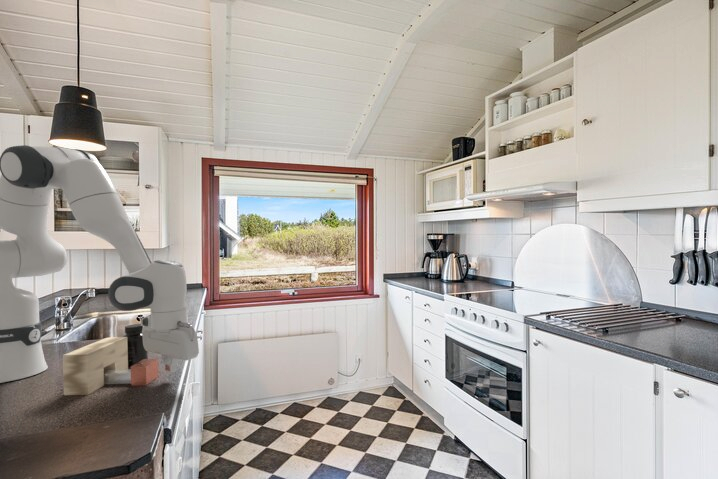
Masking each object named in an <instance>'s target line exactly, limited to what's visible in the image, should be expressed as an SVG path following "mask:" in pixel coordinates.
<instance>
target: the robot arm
mask: <svg viewBox="0 0 718 479" xmlns="http://www.w3.org/2000/svg"><path fill="white" fill-rule="evenodd" d="M0 173H1V175H0V229H1V230H2V231H5V232H8V233H10V234H12V235H15V236H16V238H15V239H11V240H0V384H2V383H6V382H11V381H17V380H21V379H25V378H28V377H32V376H34V375H37V374H40V373H43V372H44V371H46V370H47V369H49V368H48V364H47V362H46V358H45V356H44V351H43V345H42V340H41V337H42V332H43V327H42V322H41V321H40V300H39V297H38V296H37V295H36V294H35V293H34V292H31V291H29V290H25V289H22V288H18V287H16V286H15V285H14V283H13V279H16V278H17V279H18V278H30V277H42V276H46V275H50V274H51V275H52V274H55V273H58V272H61V271H62V270H63V269H64V268H65V267H66V265H67V262H68V253H67V250H66V248H65V247H64V246H63V245H62V243H60V242H59V241H57V240H55V239H54V238H53V237H52V236H51V235H50V233H49V230H48V226H47V220H48V214H49V212H48V211H49V208H50V207H49V205H50V200H51V193H52V190H59V189H61V190H62V191H63V193H64V195H65V198H66V201H67V203H68V206H69V208H70V210H71V213H72V215H73V216H74V219H75V220H76V222H77V223H78V225H79V226H80V227H81V229H83V230H84V231H85V232H87V233H88V234H90V235H93V236H96V237H98V238H99V239H102V240H104V241H106V242H107V243H109V244H110V245H112V247H113V248H114V249H115V250H116V251H117V253H118V254H119V256H120V259H121V261H122V263H123V264H124V266H125V269H126V270H127V272H128V274H125V275H122V276H120V277H118V278H115V280H114V281H112V283H111V284H110V286H109V287H108V292H107V295H108V299H109V302H110V304H111V305H112V306H113V307H114V308H115V309H117V310H119V311H123V312H131V311H132V312H133V311H138V310H140V309H143V308H149V310H150V314H149V315H147V316H144V317H142V318H141V319H140V324H141V325H142V326H143V330H142V337H143V346H144V349H145V350H146V351H148V353H149V352H150V353H154V354H158V355H161V356H160V357H161V358H160V359H161V360H162V363H163V366H164V367H163V368H164V371H166V372H168V373H175V372H177V370H178V363H179V361H180V360H182V361H190V360H193V359H196V358H198V356H199V353H200V352H199V351H200V350H199V340H198V334H197V331H196V330H195V328H194V327H193V325H192V323H190V322H188V320H189V319H188V304H187V302H186V299H187V298H186V297H187V296H186V295H187V293H188V289H187V288H188V287H187V286H188V285H187V276H186V270H185V267H184V265H182V263H180V262H177V261H172V260H167V259H166V260H163V259H158V260H157V259H156V260H154V261H151V259H150V257H149V254H148V253H147V251H146V249H145V248H144V245H143V243H142V241H141V239H140V238H139V235H138V233H137V232H136V230H135V229H134V227H133V225H132V222H131V220H130V218H129V216H128V214H127V212H126V210H125V207H124V204H123V202H122V200H121V197H120V196H119V192H118V191H117V188H116V186H115V184H114V182H113V181H112V180H111V177H110V176H109V174H108V173H107V171H106V169H105V168H104V167H103V165H102V164H101V163H100V161H99V159H97V157H96V156H95V155H94V154H93V153H90V152H88V151H86V150H85V151H84V150H81V149H72V148H67V147H60V146H30V145H25V144H24V145H15V146H14V145H13V146H9V147H7V148H6V149H4V150H3V151H2V153H1V155H0Z"/></svg>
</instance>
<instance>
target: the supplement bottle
mask: <svg viewBox="0 0 718 479" xmlns="http://www.w3.org/2000/svg"><path fill="white" fill-rule="evenodd" d="M143 327H144V326H142V325H141V323H133V324H129V325H126V326H124V335H123V336H122V337H127V345H128V369H131V366H133V365H135V364H136V363H138V362H140V361H141V360H143V359H149V351H146V350H145V349H144V346H143V337H142V330H143Z"/></svg>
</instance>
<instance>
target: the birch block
mask: <svg viewBox="0 0 718 479" xmlns="http://www.w3.org/2000/svg"><path fill="white" fill-rule="evenodd" d="M62 369H63V370H62V373H63V374H62V376H63V378H62V381H63V396H82V395H83V396H84V395H85V396H86V395H90V394H92V393H93V392H95V391H97V390H99V389H100V388H102V387H105V384H104V370H127V369H129V368H128V345H127V337H123V336H120V337H119V336H116V337H115V336H113V337H108V336H107V337H105V338H102V339H99V340H97V341H95V342H91V343H89V344H87V345H85V346H82V347H80V348H77V349H74V350H72V351H70V352H67V353H65V354H62Z"/></svg>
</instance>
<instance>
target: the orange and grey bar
mask: <svg viewBox="0 0 718 479" xmlns="http://www.w3.org/2000/svg"><path fill="white" fill-rule="evenodd" d="M157 378H159V358H148V359H143V360H141V361H140V362H138V363H136V364H135V365H133V366H131V368H128V369H127V370H104V385H119V384H120V385H124V384H125V385H127V384H130V386H131V387H134V386H139V387H140V386H148V385H149V384H150V383H152V382H153V381H154V380H156V379H157Z"/></svg>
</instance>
